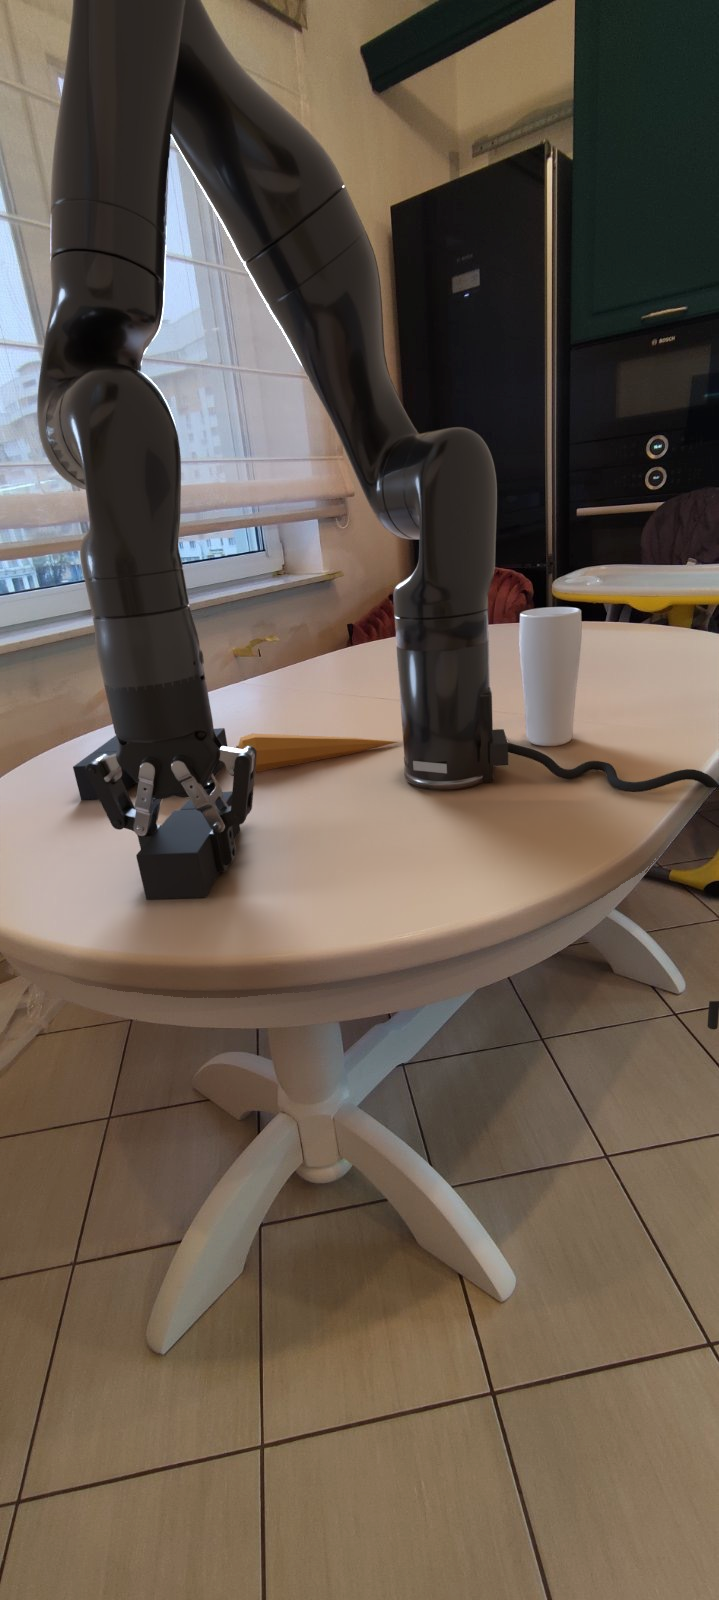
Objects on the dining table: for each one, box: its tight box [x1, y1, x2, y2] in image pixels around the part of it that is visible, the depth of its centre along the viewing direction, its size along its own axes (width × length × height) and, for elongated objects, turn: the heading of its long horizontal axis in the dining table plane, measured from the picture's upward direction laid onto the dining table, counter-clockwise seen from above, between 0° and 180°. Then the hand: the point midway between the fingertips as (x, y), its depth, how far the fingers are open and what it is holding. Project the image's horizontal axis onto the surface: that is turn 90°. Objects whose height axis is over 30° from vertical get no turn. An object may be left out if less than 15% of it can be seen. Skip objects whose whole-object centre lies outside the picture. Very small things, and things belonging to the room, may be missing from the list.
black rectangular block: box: [135, 790, 241, 900], centre depth 63 cm, size 5×13×4 cm, turn 174°
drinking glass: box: [518, 606, 583, 747], centre depth 83 cm, size 7×7×15 cm
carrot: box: [235, 733, 398, 773], centre depth 87 cm, size 20×4×4 cm, turn 106°
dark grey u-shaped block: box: [72, 727, 229, 801], centre depth 85 cm, size 14×12×4 cm
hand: (192, 867), depth 62 cm, fingers closed on black rectangular block, 5 cm apart
